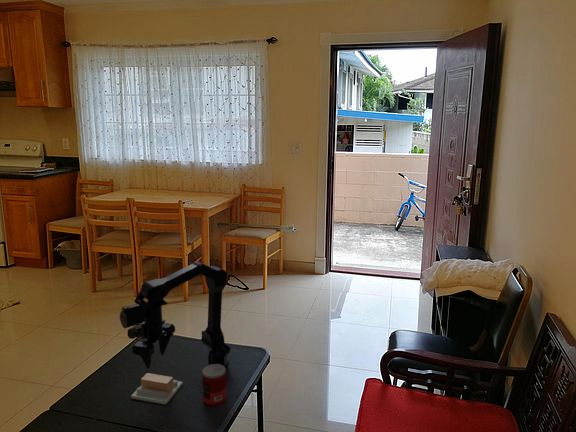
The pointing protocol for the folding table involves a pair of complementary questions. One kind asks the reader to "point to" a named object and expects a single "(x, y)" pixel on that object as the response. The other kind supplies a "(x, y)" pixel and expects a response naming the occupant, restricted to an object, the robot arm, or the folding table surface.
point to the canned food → (214, 384)
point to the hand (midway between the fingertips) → (155, 361)
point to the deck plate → (156, 394)
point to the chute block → (157, 382)
